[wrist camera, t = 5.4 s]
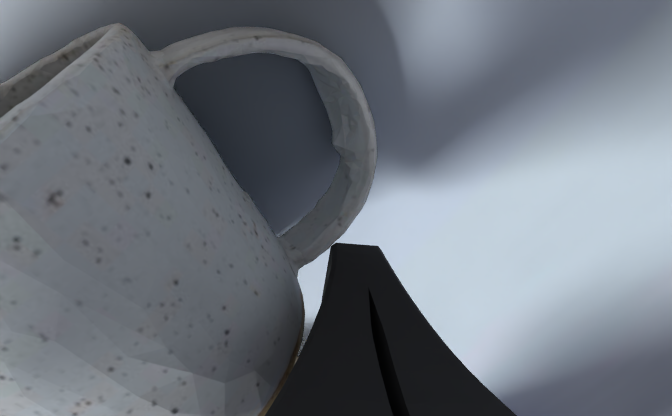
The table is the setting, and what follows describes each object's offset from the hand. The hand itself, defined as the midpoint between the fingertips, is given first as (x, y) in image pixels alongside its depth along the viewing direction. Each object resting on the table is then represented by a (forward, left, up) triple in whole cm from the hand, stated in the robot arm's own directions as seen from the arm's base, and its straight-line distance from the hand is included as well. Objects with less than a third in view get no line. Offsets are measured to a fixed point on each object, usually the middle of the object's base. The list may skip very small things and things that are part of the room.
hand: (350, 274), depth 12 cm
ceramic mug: (+5, -1, -3) cm, 6 cm away
